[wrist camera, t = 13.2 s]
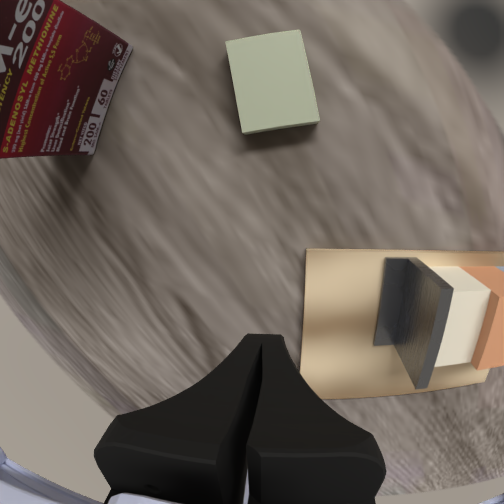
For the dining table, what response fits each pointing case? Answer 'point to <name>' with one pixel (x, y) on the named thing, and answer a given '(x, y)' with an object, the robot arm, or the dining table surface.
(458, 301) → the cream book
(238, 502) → the robot arm
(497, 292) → the terracotta cube
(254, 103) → the flat book
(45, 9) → the supplement box
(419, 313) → the bookend
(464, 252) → the shelf board
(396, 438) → the dining table surface
